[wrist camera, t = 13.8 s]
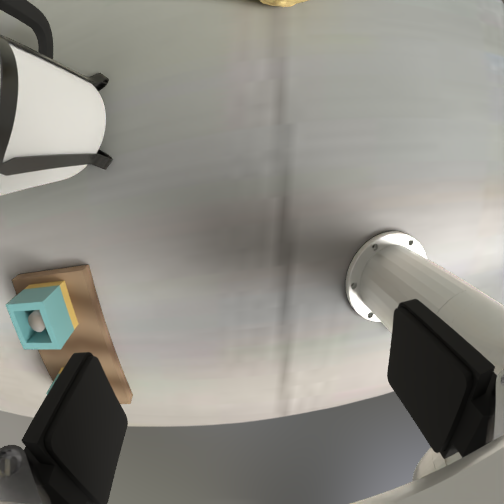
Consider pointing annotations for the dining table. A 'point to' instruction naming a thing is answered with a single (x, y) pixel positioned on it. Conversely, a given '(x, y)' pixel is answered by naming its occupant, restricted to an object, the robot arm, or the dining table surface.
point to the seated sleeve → (43, 315)
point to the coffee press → (45, 110)
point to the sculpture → (282, 2)
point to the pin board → (79, 326)
